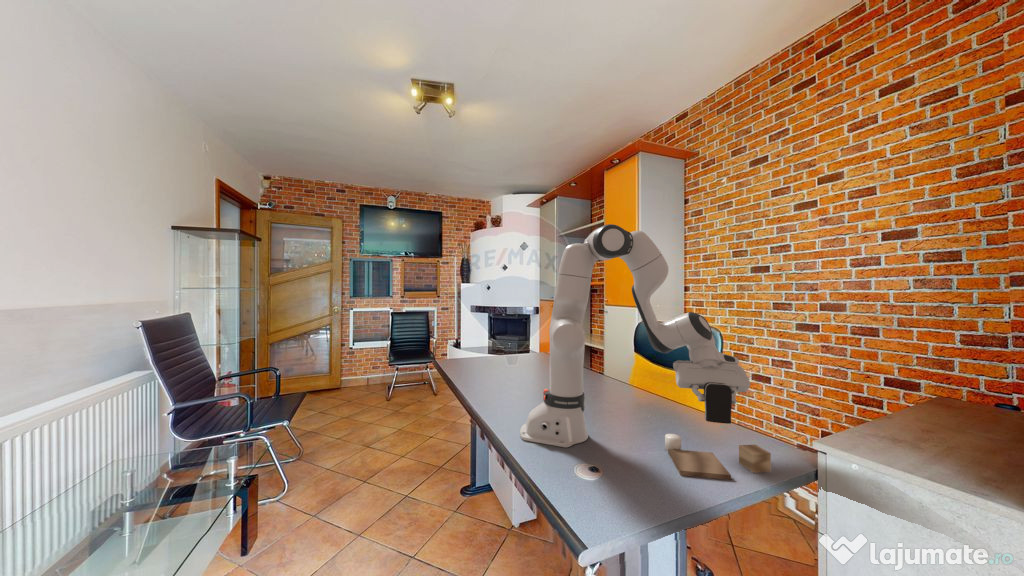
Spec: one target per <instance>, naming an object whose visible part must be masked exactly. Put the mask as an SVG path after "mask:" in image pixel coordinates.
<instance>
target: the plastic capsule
mask: <svg viewBox="0 0 1024 576" xmlns="http://www.w3.org/2000/svg"><path fill="white" fill-rule="evenodd" d="M668 449H674V450H682V437H681V436H680V435H678V434H676V433H675V434H674V433H666V434H665V435H664V450H665V451H667V452H668Z"/></svg>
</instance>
